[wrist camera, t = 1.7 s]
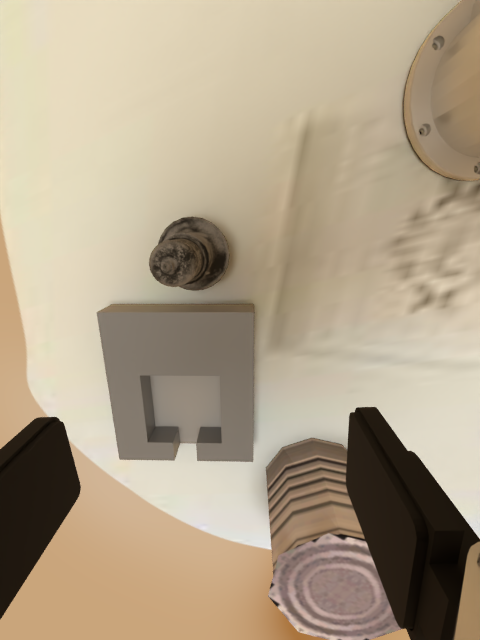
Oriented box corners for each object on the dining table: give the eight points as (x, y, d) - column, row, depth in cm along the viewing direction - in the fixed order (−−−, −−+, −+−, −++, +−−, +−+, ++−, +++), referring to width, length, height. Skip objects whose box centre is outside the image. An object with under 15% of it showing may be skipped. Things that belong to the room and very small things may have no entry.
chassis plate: (111, 304, 29) (96, 312, 26) (253, 304, 29) (254, 312, 26) (130, 440, 34) (119, 459, 31) (252, 441, 33) (253, 461, 31)
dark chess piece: (160, 227, 27) (94, 226, 15) (222, 210, 26) (201, 196, 15) (179, 289, 29) (133, 330, 17) (238, 274, 28) (231, 306, 17)
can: (302, 528, 37) (326, 663, 26) (243, 472, 35) (241, 591, 23) (380, 483, 35) (446, 609, 23) (323, 419, 32) (364, 523, 21)
